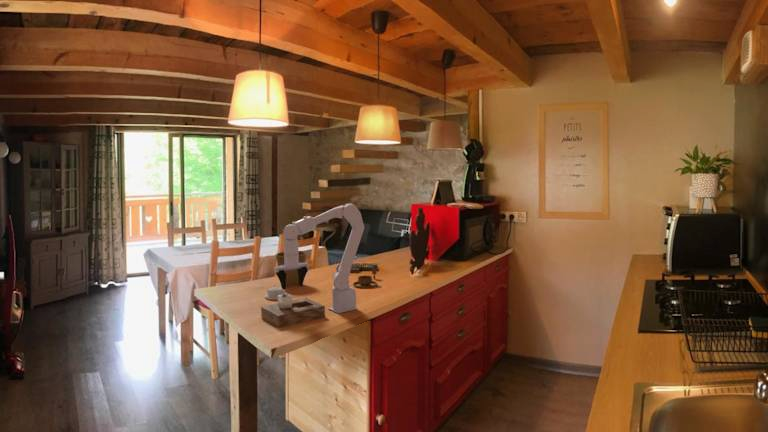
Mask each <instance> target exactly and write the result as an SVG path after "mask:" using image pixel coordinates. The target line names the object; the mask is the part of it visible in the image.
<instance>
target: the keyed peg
mask: <svg viewBox="0 0 768 432" xmlns="http://www.w3.org/2000/svg"><path fill="white" fill-rule="evenodd" d="M292 301H293V296H292V295H291V294H289V293H287V294H283V295H278V300H277V304H278V307H280V308H282V309H283V310H285V309H289V308H290V307H292Z"/></svg>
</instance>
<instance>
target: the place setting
mask: <svg viewBox="0 0 768 432" xmlns="http://www.w3.org/2000/svg"><path fill="white" fill-rule="evenodd" d="M377 271H378V270H377V268H371V273H372V275H373V276H371V275H361V276H358V277H357V280H356V281H354V282H353V284H352V285H353V288H354V287H355V288H357V289H373V290H375V289H380V288H382V286H381V285H379V286H377V285H378V282H377V281H374V280H376V275H377ZM371 284H372V285H371Z"/></svg>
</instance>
